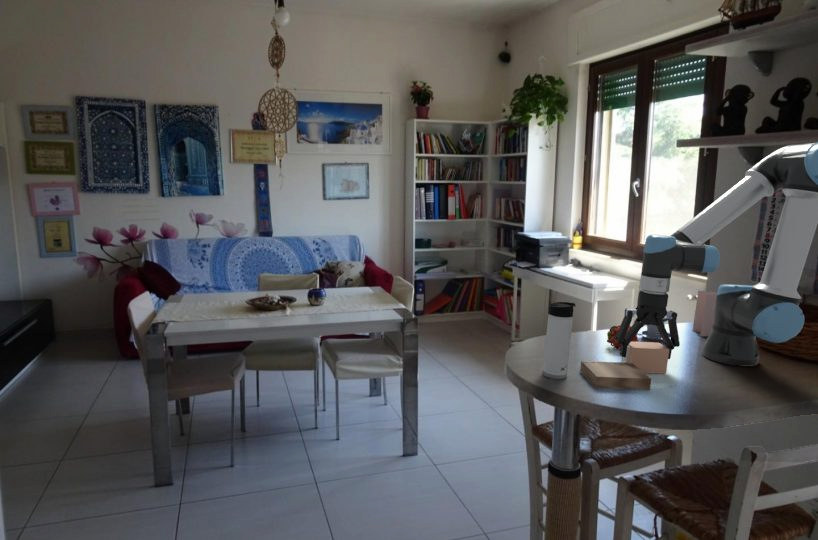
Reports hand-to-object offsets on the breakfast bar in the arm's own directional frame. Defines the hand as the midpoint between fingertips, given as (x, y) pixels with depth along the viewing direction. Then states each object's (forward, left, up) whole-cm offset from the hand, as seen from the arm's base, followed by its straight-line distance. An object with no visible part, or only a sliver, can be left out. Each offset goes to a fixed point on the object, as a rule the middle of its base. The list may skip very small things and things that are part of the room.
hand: (643, 368), depth 156 cm
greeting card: (-42, -40, -1) cm, 58 cm away
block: (0, 0, 0) cm, 0 cm away
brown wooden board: (+12, +9, 0) cm, 15 cm away
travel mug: (+27, +7, -1) cm, 28 cm away
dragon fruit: (-2, -20, -1) cm, 20 cm away
